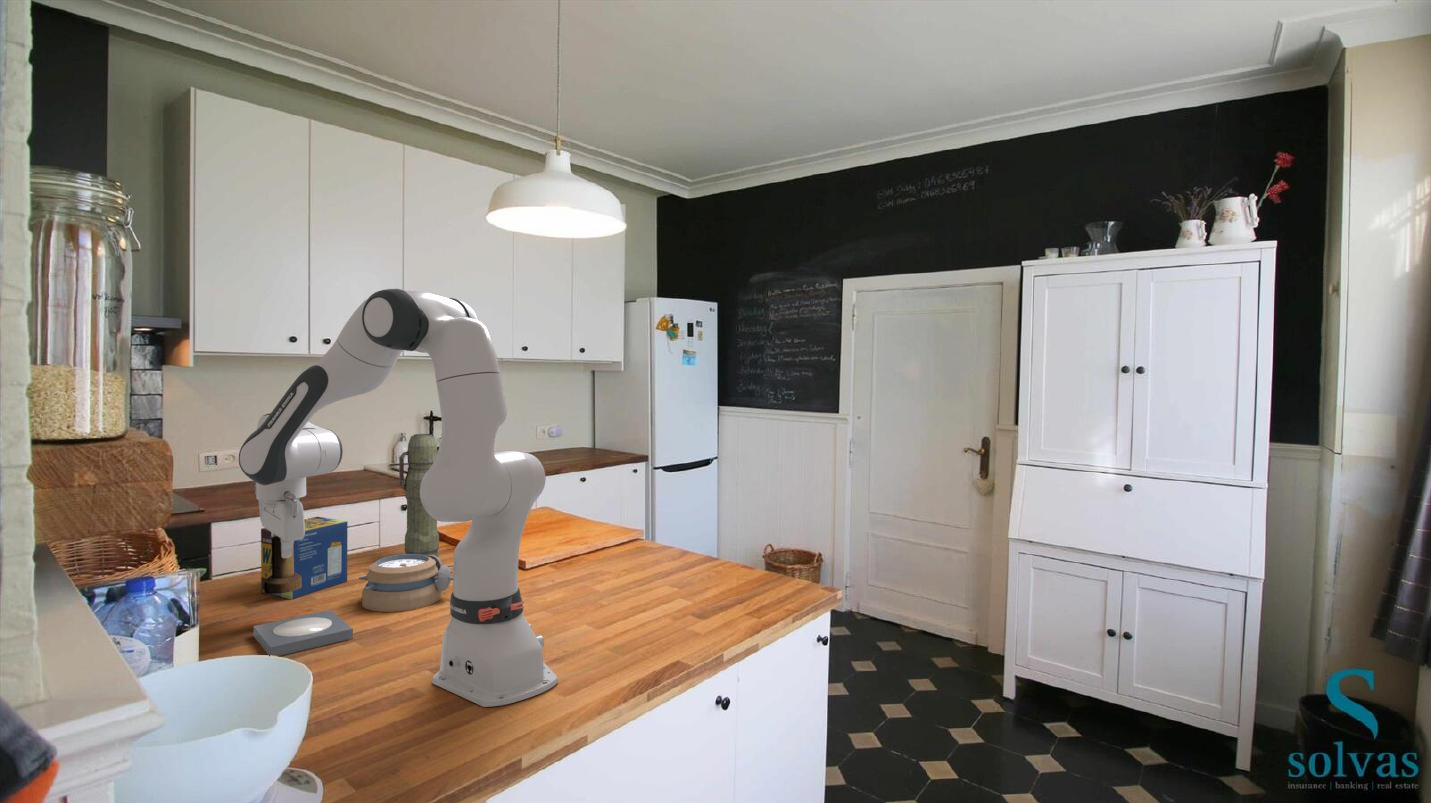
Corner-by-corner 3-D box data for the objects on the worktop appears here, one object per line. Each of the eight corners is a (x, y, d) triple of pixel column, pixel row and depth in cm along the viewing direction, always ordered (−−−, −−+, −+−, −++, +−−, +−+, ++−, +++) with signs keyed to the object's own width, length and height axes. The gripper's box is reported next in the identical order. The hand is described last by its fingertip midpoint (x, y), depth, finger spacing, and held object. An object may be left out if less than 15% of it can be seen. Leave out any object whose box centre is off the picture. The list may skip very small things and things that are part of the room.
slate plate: (352, 638, 137) (352, 627, 137) (270, 658, 127) (270, 646, 127) (331, 619, 147) (331, 609, 147) (253, 636, 137) (253, 625, 137)
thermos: (395, 557, 195) (395, 434, 194) (438, 551, 202) (439, 432, 201) (403, 565, 188) (404, 436, 187) (448, 558, 195) (448, 435, 194)
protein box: (259, 593, 162) (259, 528, 162) (318, 576, 177) (318, 516, 176) (291, 600, 159) (291, 533, 158) (348, 581, 173) (348, 520, 172)
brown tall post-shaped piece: (297, 582, 149) (296, 499, 148) (305, 589, 145) (304, 504, 144) (261, 589, 145) (259, 503, 144) (268, 596, 140) (266, 508, 139)
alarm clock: (355, 556, 163) (457, 544, 176) (355, 595, 163) (457, 580, 176) (367, 575, 149) (477, 560, 162) (367, 617, 149) (476, 599, 162)
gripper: (313, 493, 139) (314, 561, 139) (286, 482, 153) (287, 543, 154) (276, 497, 134) (277, 567, 135) (252, 485, 149) (253, 548, 149)
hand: (282, 555), depth 144 cm, fingers closed on brown tall post-shaped piece, 4 cm apart
